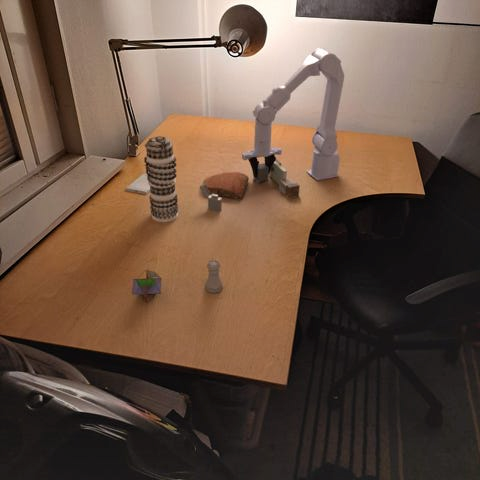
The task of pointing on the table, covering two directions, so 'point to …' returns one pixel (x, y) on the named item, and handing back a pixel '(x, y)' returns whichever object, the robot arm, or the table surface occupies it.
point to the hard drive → (140, 185)
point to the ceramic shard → (227, 184)
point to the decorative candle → (161, 179)
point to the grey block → (262, 173)
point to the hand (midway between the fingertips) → (260, 175)
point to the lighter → (211, 199)
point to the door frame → (288, 186)
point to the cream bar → (278, 172)
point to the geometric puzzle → (147, 284)
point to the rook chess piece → (213, 277)
